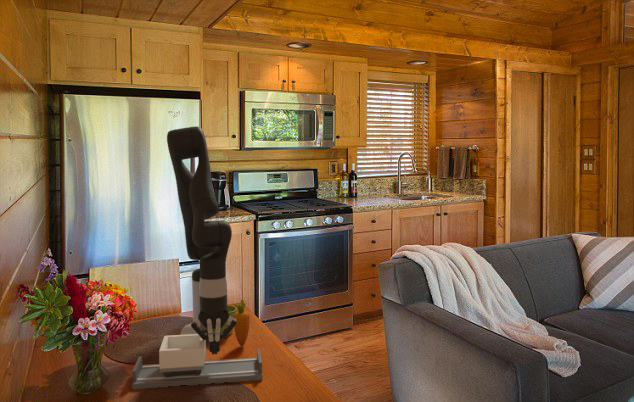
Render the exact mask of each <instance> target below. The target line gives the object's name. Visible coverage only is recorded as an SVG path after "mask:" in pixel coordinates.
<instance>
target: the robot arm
mask: <svg viewBox="0 0 634 402" xmlns="http://www.w3.org/2000/svg"><path fill="white" fill-rule="evenodd" d="M166 142H167V149H168V153H169V158H170V161H171V165H172V169H173V173H174V176H175V183H176V188H177V196H178V202H179V209H180V211H181V216H182V221H183V227H184V234H185V235H184V236H185V247H186V252H187V253H186V254H187V256H188V258H189V259H190V260H192V261H199V268H196V269H195V270H193V271H192V273H191V286H192V287H191V288H192V289H191V290H192V291H191V292H192V321H191V322H190V324H191V327H192V328H193V329H194V330H195V331H196V333H197V334H198V335H199V336H200V337H201V338H202V339H203V340H206V341H208V345H209V346H208V347H209V349H208V351H209V353H211V355H218V353H220V350H221V345H220V344H221V342H220V341H221V340H225V339H226V338H227V337H228V336H229V335H228V334H229V333H230V332H231V330H232V329H233V330H234V326H235V325H236V323H237V322H236V318H232V317H230V316H229V312H228V310H227V305H228V280H227V271H226V268H227V264H226V262H227V257H228V251H229V247H230V244H231V240H232V237H233V236H232V234H233V233H232V232H233V230H232V227H231V224H230V223H229V222H228V221H226V220H225V219H223V220H222V219H221V220H209V219H211V218H214V217H215V216H216V215H217V214H218V213H219V204H218V200H217V196H216V193H215V190H214V186H213V180H212V173H211V171H212V170H211V164H210V159H209V158H210V157H209V156H210V155H209V151H208V145H207V139H206V136H205V133H204V131H203V129H202V127H200V126H198V125H197V126H189V127H182V128H177V129H171V130H169V131H168V132H167V134H166ZM194 158H196V159H197V158H198V163H197V165H196V166H197V167H196V170H195V172H194V173H192V172H191V171H190V169H189V168H188V167H187V166H186V165H185V163H184V162H183V161H184V160H188V159H194ZM207 219H208V221H205V220H207ZM227 320H228V326H227V327H226V328H225V329H224V331H223V332H222V333H220V328H222V327H223V325H224V324H225V323H226V321H227ZM214 329H216V332H215V334H214ZM206 331H207V332H206ZM214 335H215V336H214ZM227 335H228V336H227Z"/></svg>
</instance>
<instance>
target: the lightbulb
mask: <svg viewBox="0 0 634 402" xmlns="http://www.w3.org/2000/svg"><path fill="white" fill-rule="evenodd" d="M187 334H197V333H196V331H195V330H194V329H193V328H192V327H191V323H188V324H186V325H184V326H183V327H182V329H181V330H180V335H187Z"/></svg>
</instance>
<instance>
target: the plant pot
mask: <svg viewBox="0 0 634 402" xmlns="http://www.w3.org/2000/svg"><path fill="white" fill-rule="evenodd" d="M227 310H228V312H229V316H230V317H232V318H234V314H235V313H236V311H237V310H238V309H237V308H236V307H235V306H233V305H231V304H227ZM227 326H228V320H227V321H226V323H225V324H224V325H223V327H222V328H220V333H222V332H223V331H224V329H225V328H226V327H227ZM233 331H234V328H233V329H232V330H231V332H230V333H229V334H228V335H227V337H228V336H230V335H231V334H233ZM215 332H216V329H213V335H215Z"/></svg>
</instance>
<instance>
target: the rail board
mask: <svg viewBox="0 0 634 402" xmlns="http://www.w3.org/2000/svg"><path fill="white" fill-rule="evenodd" d="M256 351H257V353H256V354H257V355H256V356H257V357H246V358H244V357H243V358H242V357H241V358H229V359H228V358H227V359H215V360H212V359H211V360H205V364H204V369H203V370H202V372H201V374H200V375H195V374H194V370H188V371H173V372H171V375H170V376H169V377H165V376H164V375H163V372H160V365H159V363H153V364H152V363H151V364H143V356H140V355H139V356H138V357H137V360H136V361H135V364H134V366H133V369H132V371H131V374H132V376H131V377H132V384H131V389H132V390H143V389H156V388H159V387H160V388H169V387H168V386H173V387H181V386H180V385H187V386H197V385H199V384H201V385H212V384H211V383H215V384H223V383H224V382H228V383H238V382H240V383H241V382H242V383H243V382H252V381H253V382H254V381H256V382H257V381H263V361H262V359H263V358H262V352H261V348H257V349H256ZM224 384H225V383H224Z"/></svg>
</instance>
